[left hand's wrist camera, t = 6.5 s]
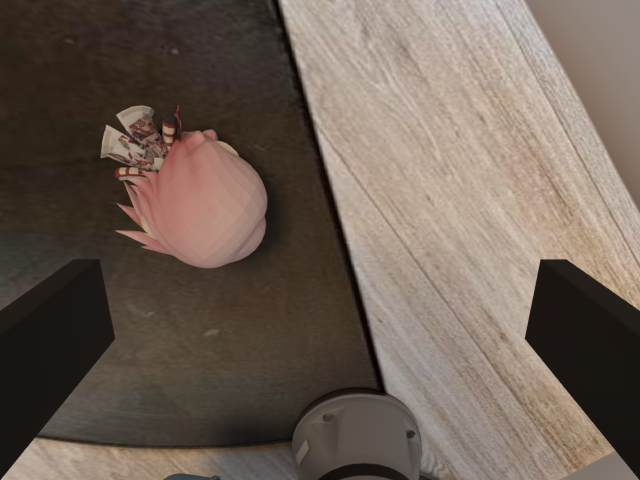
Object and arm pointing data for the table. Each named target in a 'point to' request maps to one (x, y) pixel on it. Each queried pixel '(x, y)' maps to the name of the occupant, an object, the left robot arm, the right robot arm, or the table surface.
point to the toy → (187, 190)
